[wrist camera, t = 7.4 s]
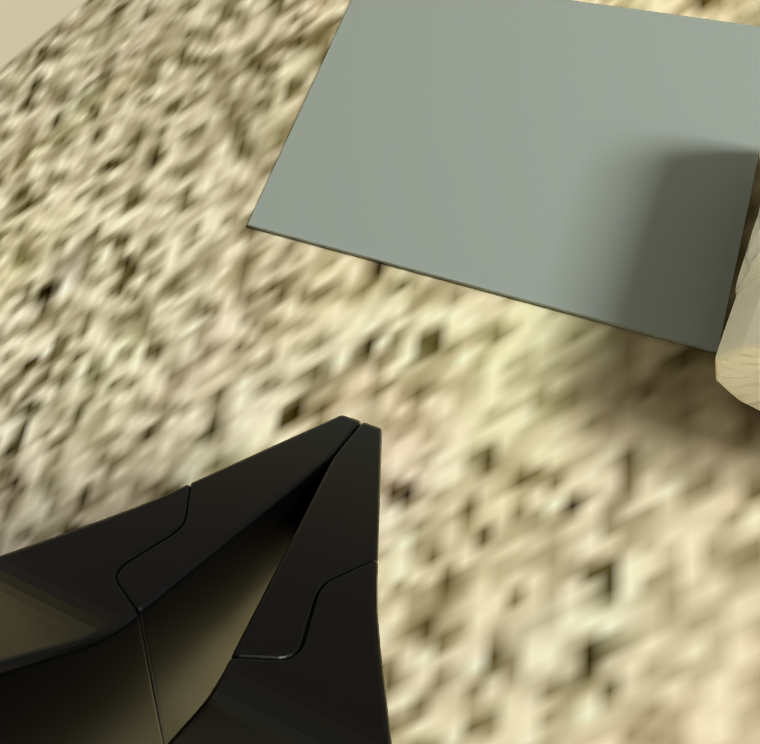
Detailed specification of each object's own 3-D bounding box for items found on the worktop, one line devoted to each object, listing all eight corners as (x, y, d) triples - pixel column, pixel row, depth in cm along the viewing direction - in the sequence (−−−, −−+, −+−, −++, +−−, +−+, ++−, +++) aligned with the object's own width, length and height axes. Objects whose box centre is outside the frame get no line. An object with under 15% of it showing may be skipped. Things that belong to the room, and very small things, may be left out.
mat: (704, 358, 17) (717, 351, 16) (254, 234, 20) (247, 224, 20) (772, 48, 20) (785, 30, 19) (367, -12, 23) (364, -29, 23)
